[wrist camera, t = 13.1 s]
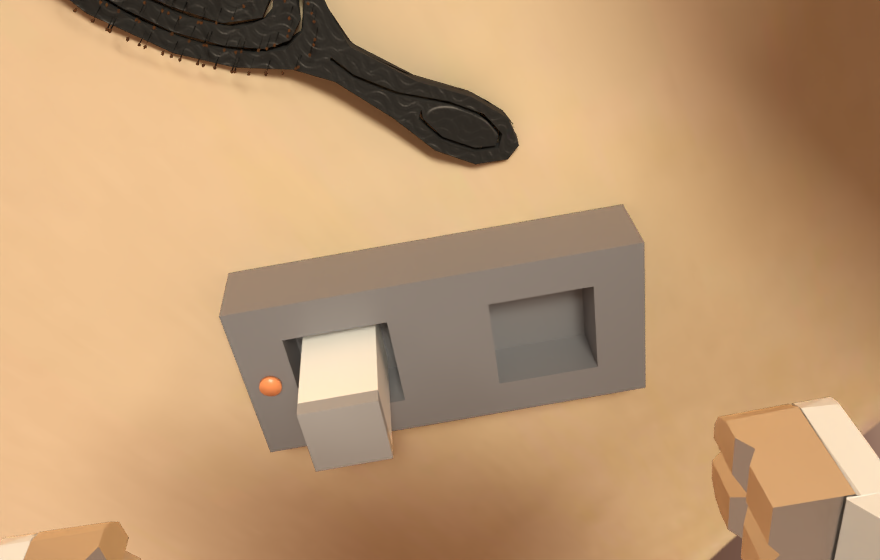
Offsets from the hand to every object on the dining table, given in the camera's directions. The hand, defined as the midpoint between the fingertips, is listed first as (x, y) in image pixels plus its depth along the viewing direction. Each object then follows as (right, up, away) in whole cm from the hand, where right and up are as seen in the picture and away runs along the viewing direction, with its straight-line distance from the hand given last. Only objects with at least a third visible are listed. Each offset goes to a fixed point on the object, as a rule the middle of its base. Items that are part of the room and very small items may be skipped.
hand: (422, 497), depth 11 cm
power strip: (0, +1, +37) cm, 37 cm away
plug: (-5, 0, +36) cm, 37 cm away
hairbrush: (-7, +15, +28) cm, 32 cm away
